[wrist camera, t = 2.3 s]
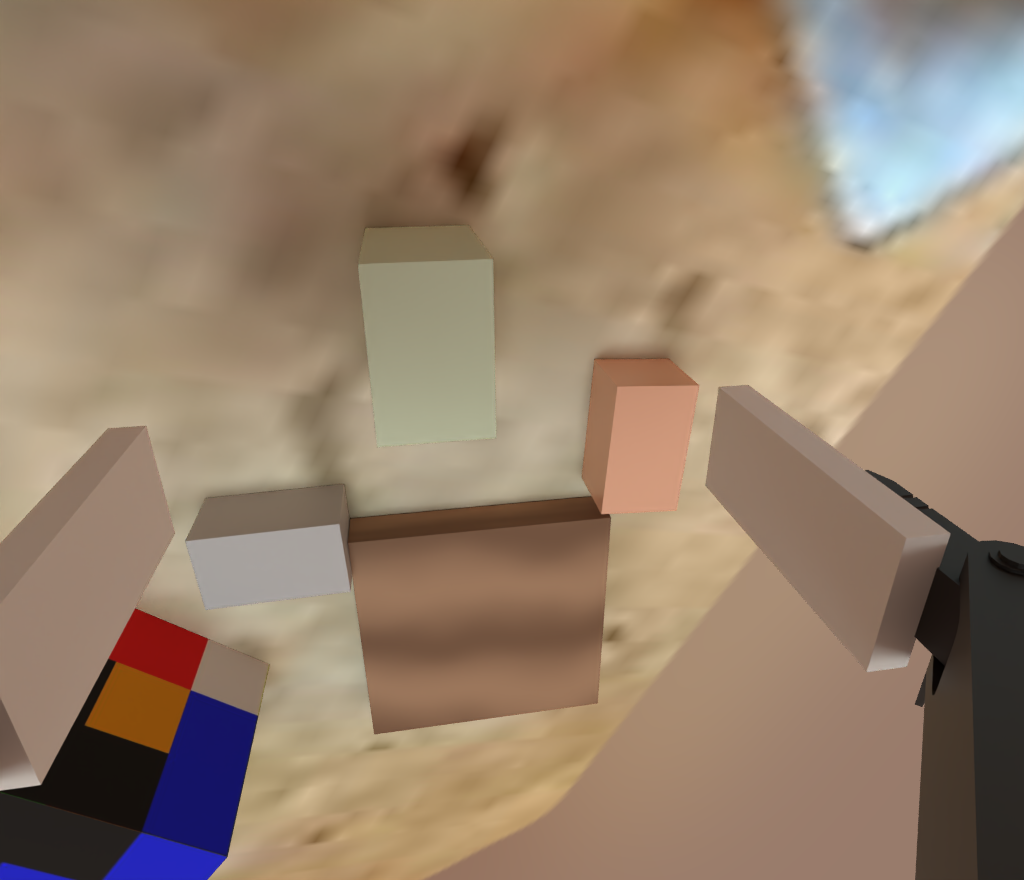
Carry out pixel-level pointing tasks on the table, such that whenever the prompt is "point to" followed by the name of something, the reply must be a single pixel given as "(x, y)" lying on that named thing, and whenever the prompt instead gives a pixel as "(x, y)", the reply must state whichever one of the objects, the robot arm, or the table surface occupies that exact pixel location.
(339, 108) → the table surface
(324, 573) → the grey brick
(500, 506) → the walnut slab
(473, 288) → the sage brick
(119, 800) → the puzzle toy
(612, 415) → the terracotta brick
